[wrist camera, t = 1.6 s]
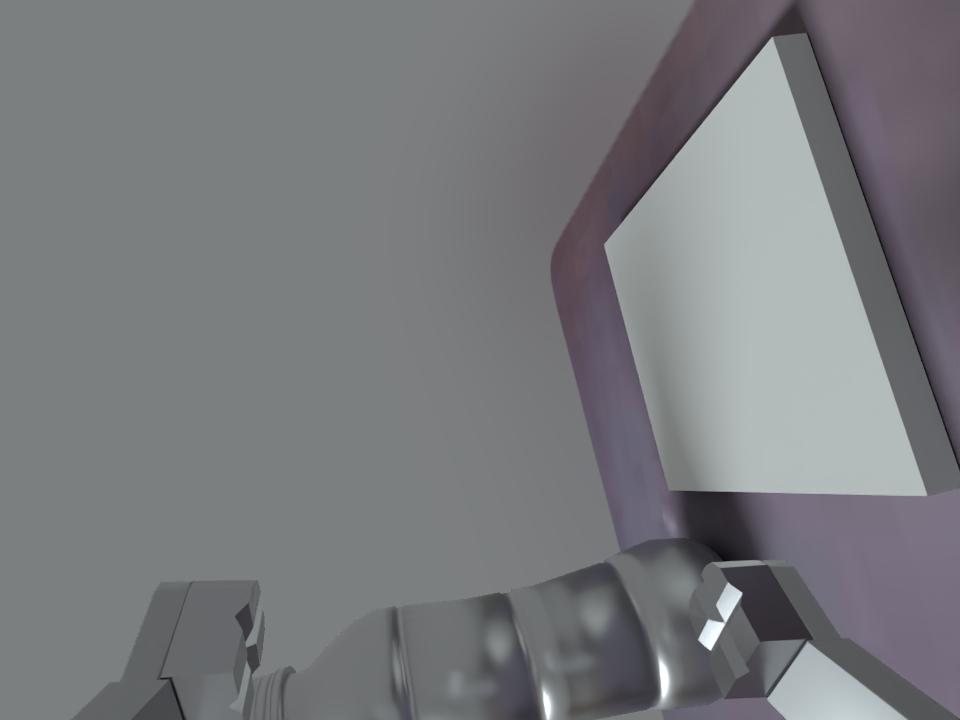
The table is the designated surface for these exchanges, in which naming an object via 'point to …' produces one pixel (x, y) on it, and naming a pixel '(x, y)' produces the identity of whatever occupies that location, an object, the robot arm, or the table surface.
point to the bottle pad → (774, 306)
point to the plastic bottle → (518, 651)
